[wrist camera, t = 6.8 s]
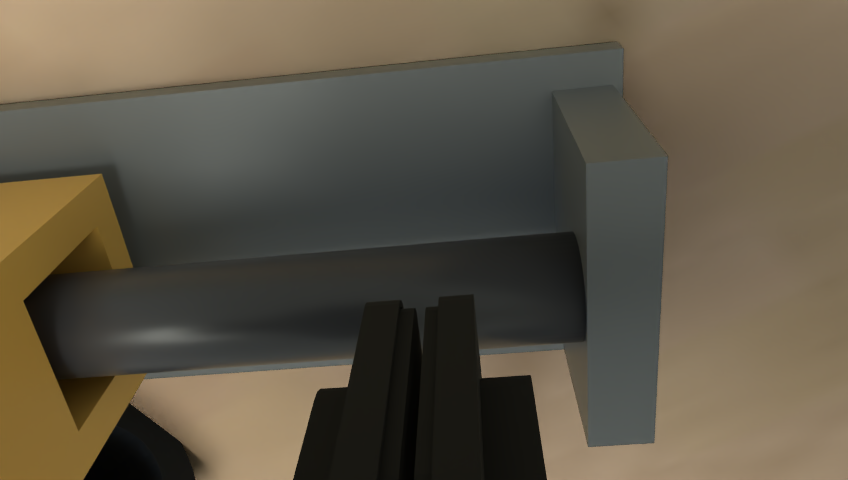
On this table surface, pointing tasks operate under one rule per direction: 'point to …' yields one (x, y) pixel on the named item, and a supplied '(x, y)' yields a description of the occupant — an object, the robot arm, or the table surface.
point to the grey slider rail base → (365, 220)
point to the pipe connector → (140, 452)
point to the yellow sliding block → (17, 338)
